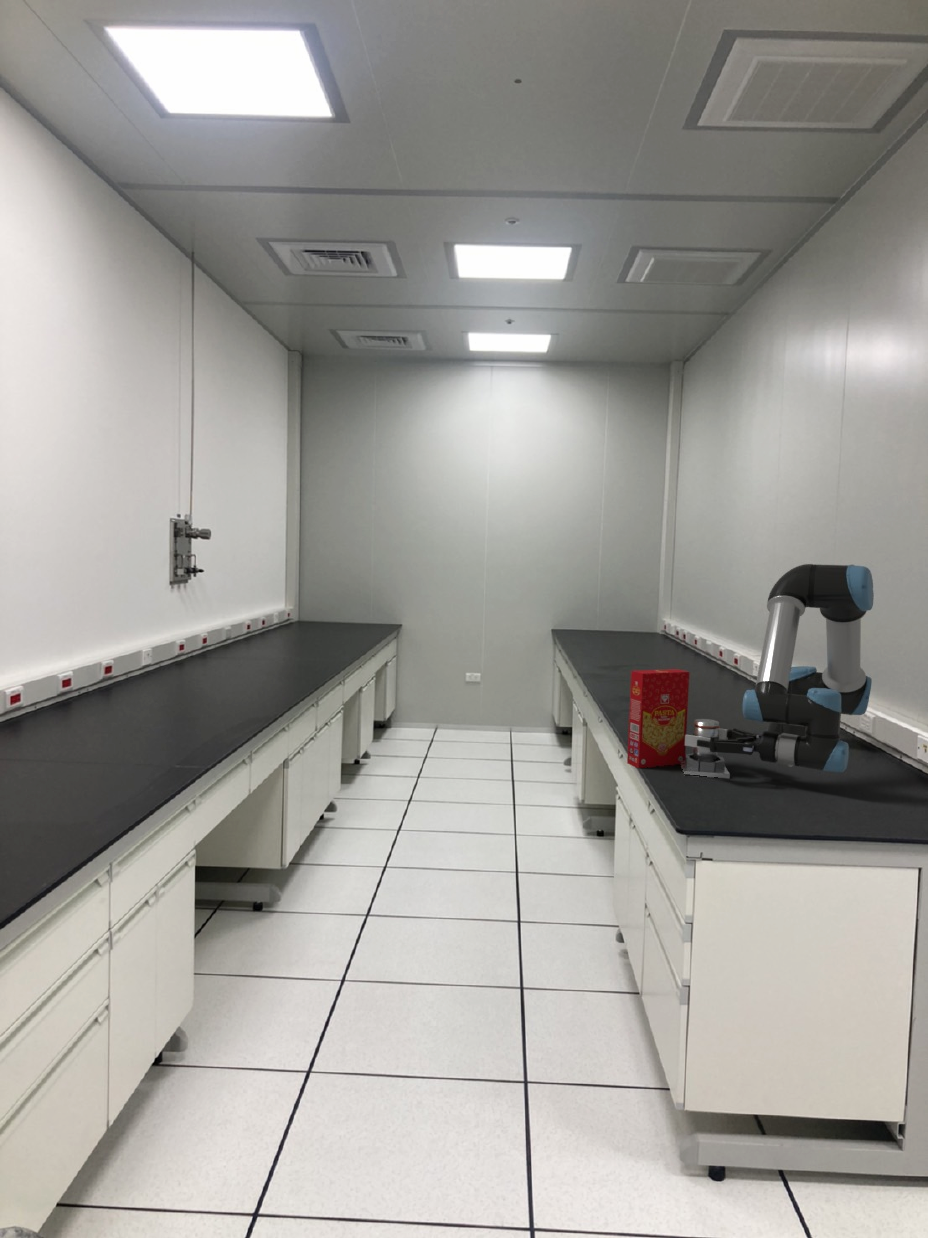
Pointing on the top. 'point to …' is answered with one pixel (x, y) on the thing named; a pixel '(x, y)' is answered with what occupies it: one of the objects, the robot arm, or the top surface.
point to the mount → (704, 767)
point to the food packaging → (657, 717)
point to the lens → (706, 730)
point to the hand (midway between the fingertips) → (693, 735)
